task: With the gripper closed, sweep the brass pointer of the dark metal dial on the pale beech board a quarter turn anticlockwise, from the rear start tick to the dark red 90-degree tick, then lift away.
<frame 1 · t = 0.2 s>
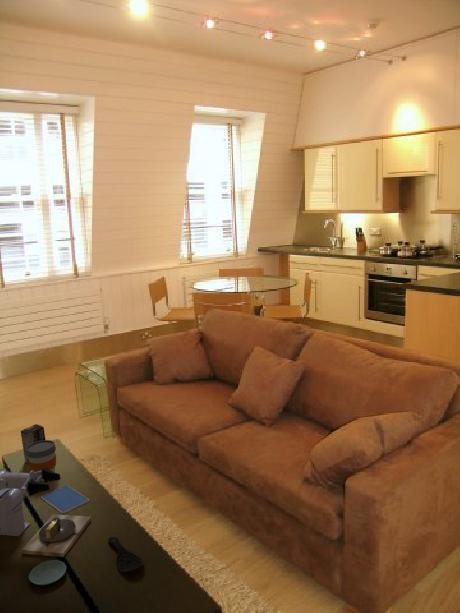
hand: (54, 482, 199), 21 cm above the table, tool horizontal, fingers open, 7 cm apart
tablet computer: (65, 500, 227), on the table
hairbrush: (123, 557, 188), on the table
dial board: (58, 536, 202), on the table
reusable coffee cup: (44, 476, 247), on the table
saucer: (48, 578, 180), on the table
coffee box: (36, 459, 264), on the table
dial: (56, 525, 201), point 4 cm above the table, hinge at 0.0°
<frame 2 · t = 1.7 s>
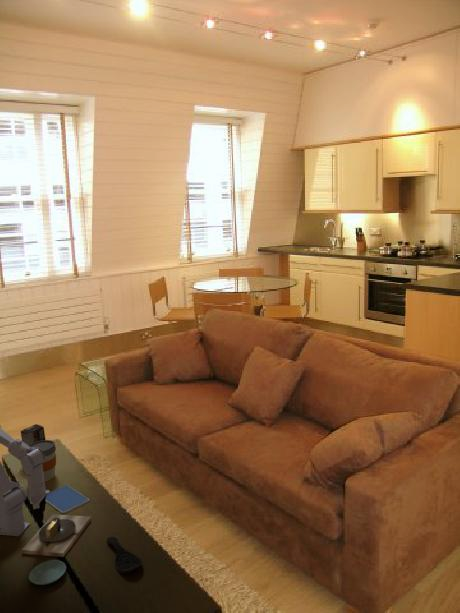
hand: (41, 516, 199), 9 cm above the table, tool pointing down, fingers open, 6 cm apart
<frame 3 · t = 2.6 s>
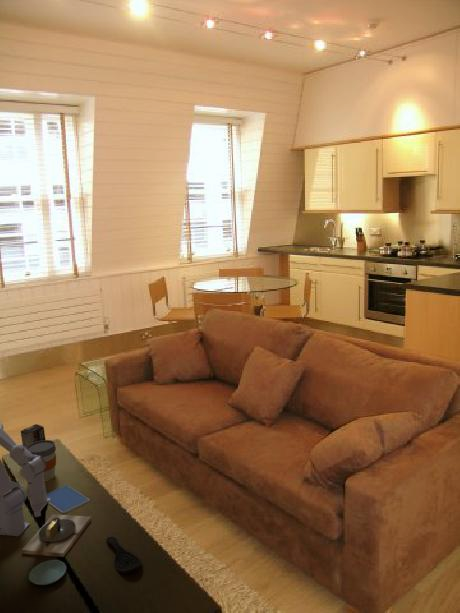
hand: (42, 523, 199), 6 cm above the table, tool pointing down, fingers closed
nothing on the table moved.
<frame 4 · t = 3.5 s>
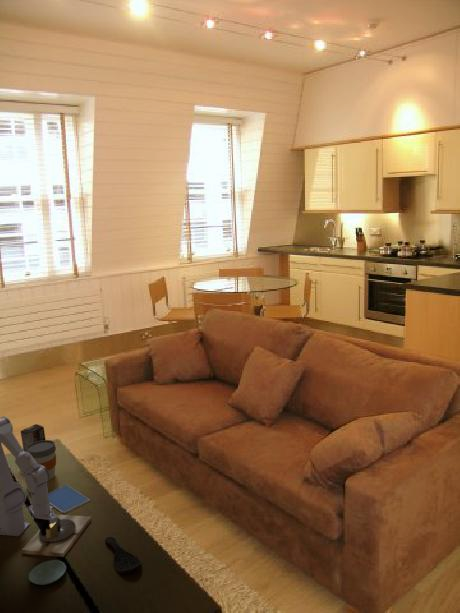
hand: (45, 534, 197), 4 cm above the table, tool pointing down, fingers closed
dial: (56, 525, 201), point 4 cm above the table, hinge at 0.7°, touching gripper
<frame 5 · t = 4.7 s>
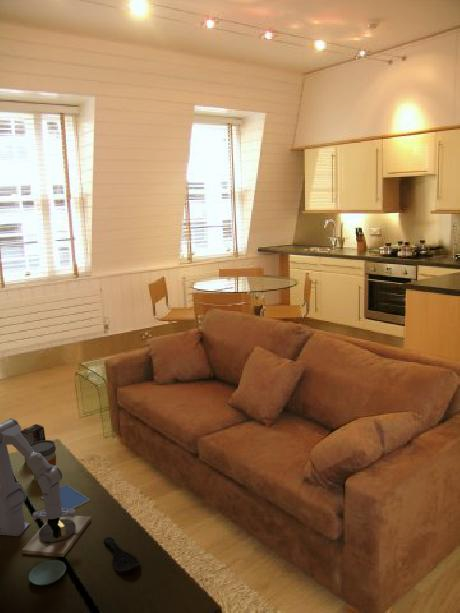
hand: (56, 535, 196), 4 cm above the table, tool pointing down, fingers closed, pressing on dial
dial: (56, 525, 201), point 4 cm above the table, hinge at 51.2°, touching gripper
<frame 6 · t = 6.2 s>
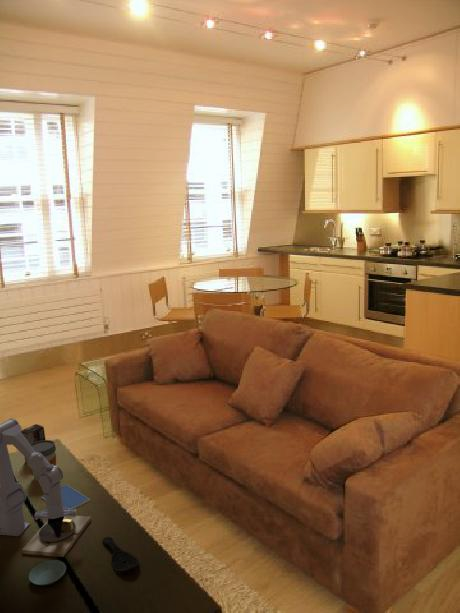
hand: (58, 534, 196), 4 cm above the table, tool pointing down, fingers closed
dial: (56, 525, 201), point 4 cm above the table, hinge at 91.4°
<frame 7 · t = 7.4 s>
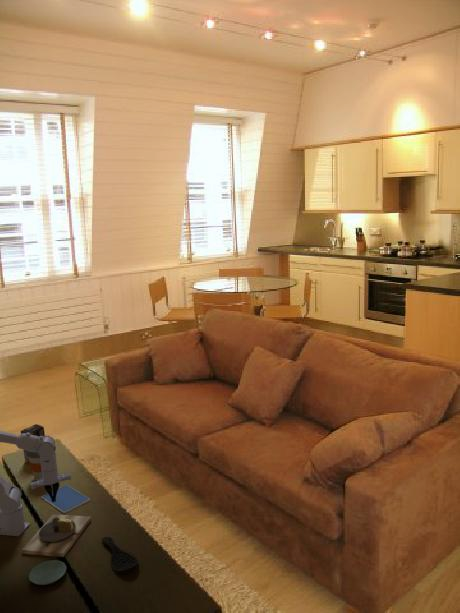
hand: (53, 500, 208), 9 cm above the table, tool pointing down, fingers closed
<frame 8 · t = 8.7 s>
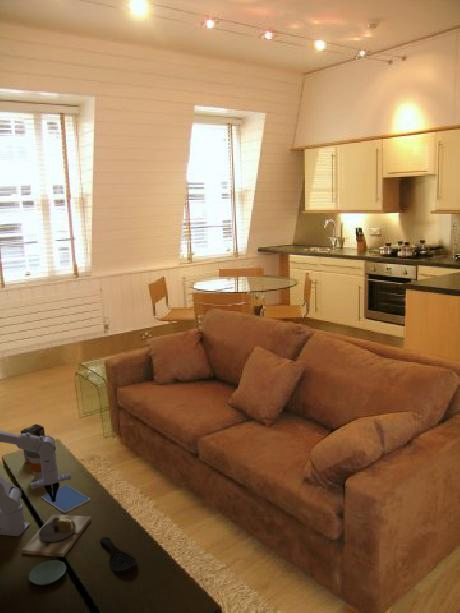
hand: (53, 500, 208), 9 cm above the table, tool pointing down, fingers closed
at the end: dial at +92° (first picture: +0°); saucer moved 0.4 cm from its start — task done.
